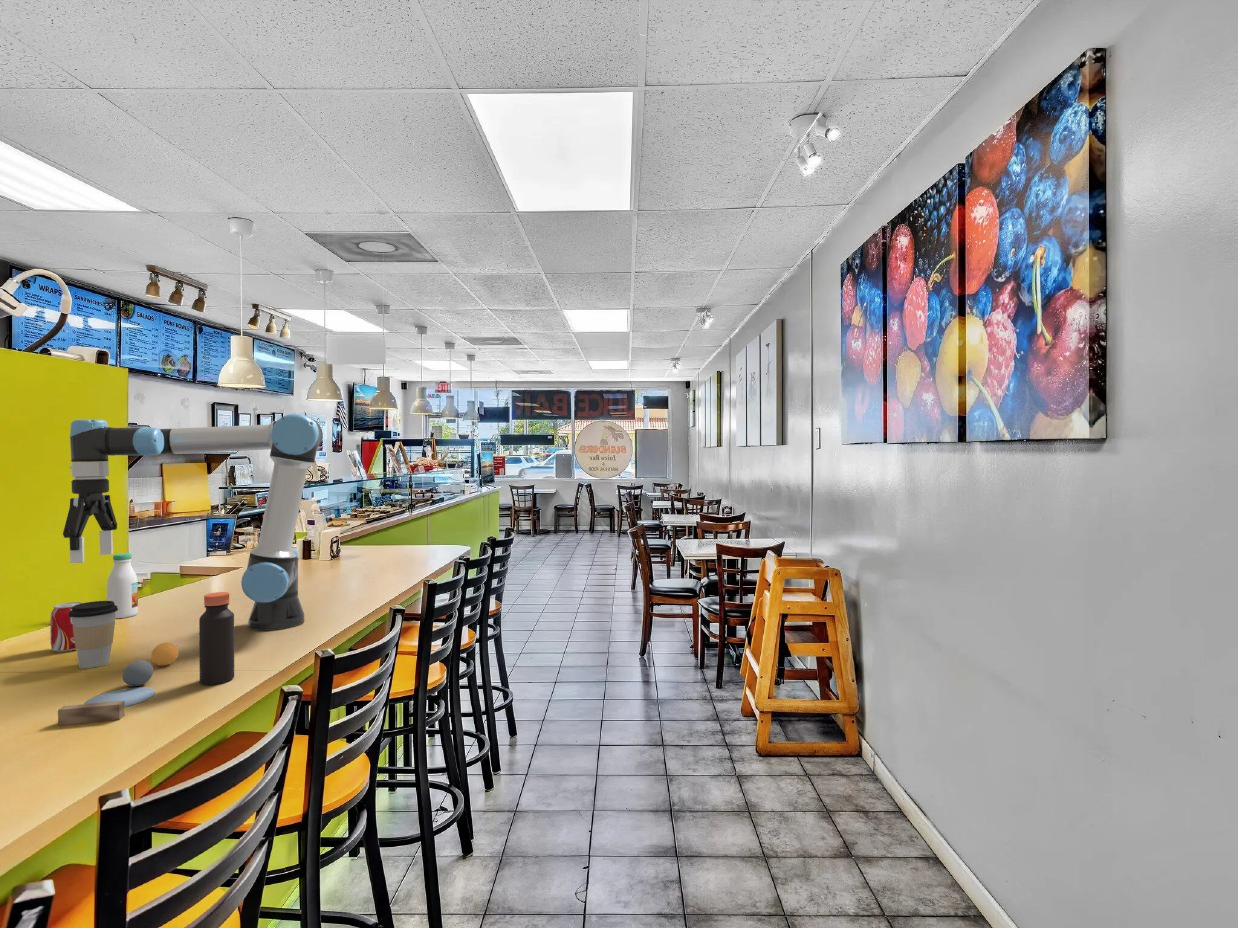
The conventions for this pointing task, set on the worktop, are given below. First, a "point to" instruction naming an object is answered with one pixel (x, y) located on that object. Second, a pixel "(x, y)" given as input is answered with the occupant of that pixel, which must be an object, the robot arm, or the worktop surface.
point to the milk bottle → (123, 586)
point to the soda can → (62, 628)
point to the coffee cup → (93, 632)
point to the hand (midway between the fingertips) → (92, 558)
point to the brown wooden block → (91, 712)
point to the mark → (124, 696)
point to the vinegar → (216, 640)
